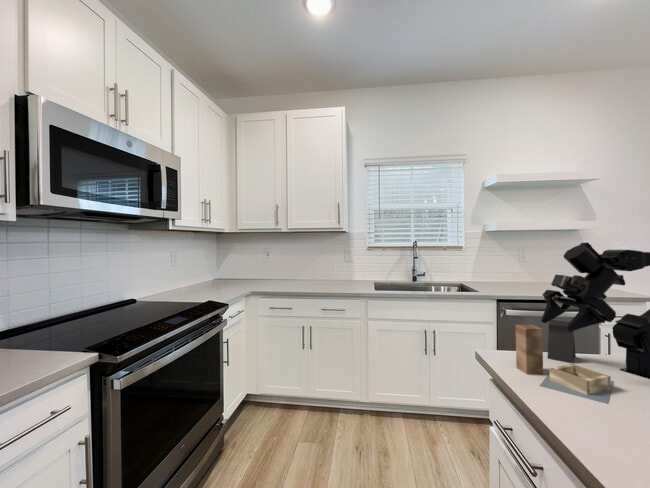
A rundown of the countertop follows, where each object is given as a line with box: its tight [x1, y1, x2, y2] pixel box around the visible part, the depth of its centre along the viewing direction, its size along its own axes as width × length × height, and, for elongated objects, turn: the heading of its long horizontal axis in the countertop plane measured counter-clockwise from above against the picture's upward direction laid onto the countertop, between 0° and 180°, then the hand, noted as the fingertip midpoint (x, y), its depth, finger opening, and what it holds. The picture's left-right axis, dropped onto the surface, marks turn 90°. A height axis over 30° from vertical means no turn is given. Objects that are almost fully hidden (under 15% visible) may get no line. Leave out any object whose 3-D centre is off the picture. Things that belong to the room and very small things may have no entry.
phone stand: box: [547, 319, 577, 364], centre depth 95 cm, size 9×6×12 cm, turn 136°
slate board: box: [538, 372, 615, 405], centre depth 76 cm, size 16×12×1 cm
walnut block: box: [515, 324, 544, 375], centre depth 85 cm, size 4×4×13 cm
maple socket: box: [549, 363, 612, 395], centre depth 76 cm, size 8×8×3 cm
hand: (554, 326), depth 85 cm, fingers open, 9 cm apart
